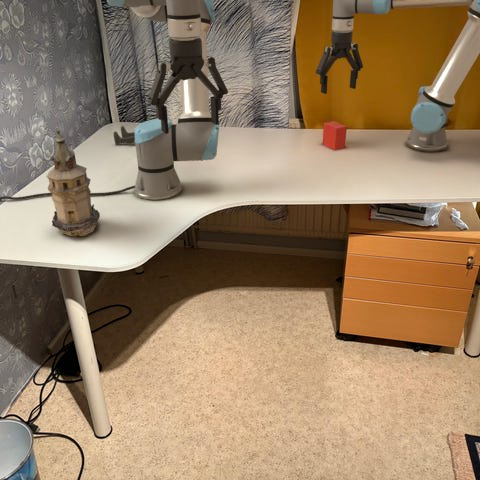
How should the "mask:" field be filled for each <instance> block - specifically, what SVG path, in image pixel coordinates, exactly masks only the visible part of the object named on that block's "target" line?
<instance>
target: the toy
mask: <svg viewBox="0 0 480 480" xmlns="http://www.w3.org/2000/svg"><path fill="white" fill-rule="evenodd" d="M120 133H121V136H120V134H119V133H118V132H117V131H114V132H113V140H114V144H115V145H116V146H117V145H120V144H135V142H134V141H135V131H132V132H131V131H130V132H128V131H127V130H126V127H125V126H124V125H122V126H120Z"/></svg>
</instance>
